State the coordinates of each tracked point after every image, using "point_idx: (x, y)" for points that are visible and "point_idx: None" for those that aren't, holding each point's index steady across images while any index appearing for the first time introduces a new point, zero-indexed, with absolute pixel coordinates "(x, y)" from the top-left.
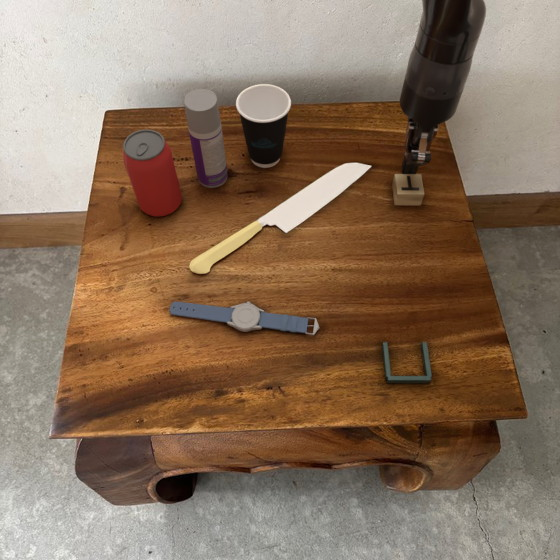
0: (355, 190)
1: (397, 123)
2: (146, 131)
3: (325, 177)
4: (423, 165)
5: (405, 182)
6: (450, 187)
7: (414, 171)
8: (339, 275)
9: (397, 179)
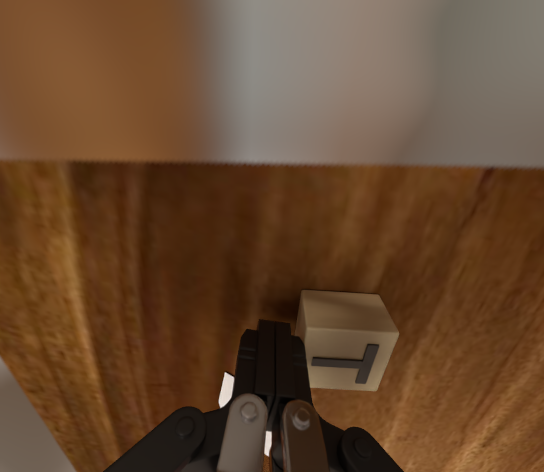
0: None
1: (41, 297)
2: None
3: (265, 447)
4: (392, 460)
5: (336, 370)
6: (323, 194)
7: (305, 358)
8: (501, 440)
9: (321, 385)
